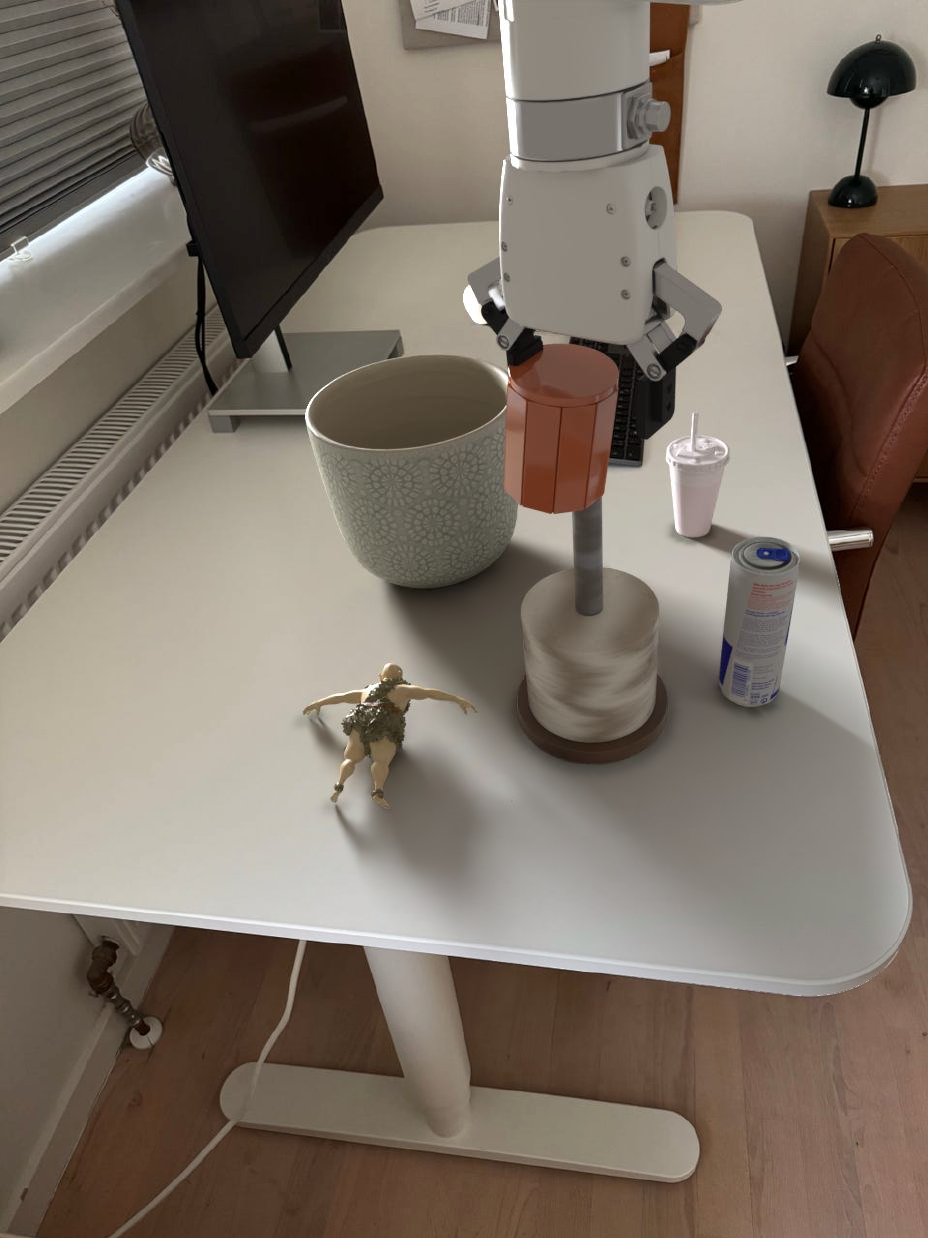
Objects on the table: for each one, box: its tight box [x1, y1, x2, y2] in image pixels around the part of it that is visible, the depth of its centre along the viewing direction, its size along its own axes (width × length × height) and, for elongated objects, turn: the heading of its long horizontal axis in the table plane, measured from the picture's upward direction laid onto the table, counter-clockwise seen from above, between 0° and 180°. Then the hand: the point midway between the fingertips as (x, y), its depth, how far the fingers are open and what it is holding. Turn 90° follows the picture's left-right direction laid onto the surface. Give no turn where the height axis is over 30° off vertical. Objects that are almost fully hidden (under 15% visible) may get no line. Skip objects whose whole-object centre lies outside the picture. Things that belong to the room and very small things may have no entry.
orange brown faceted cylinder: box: [503, 343, 620, 515], centre depth 61 cm, size 7×8×9 cm
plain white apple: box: [463, 282, 503, 325], centre depth 147 cm, size 7×7×8 cm
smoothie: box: [665, 410, 731, 538], centre depth 93 cm, size 6×6×14 cm
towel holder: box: [516, 496, 669, 765], centre depth 72 cm, size 13×13×22 cm
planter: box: [305, 353, 519, 589], centre depth 93 cm, size 21×21×19 cm
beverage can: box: [718, 536, 801, 708], centre depth 73 cm, size 5×5×15 cm
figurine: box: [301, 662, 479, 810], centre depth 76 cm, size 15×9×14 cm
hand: (588, 414), depth 59 cm, fingers open, 9 cm apart
